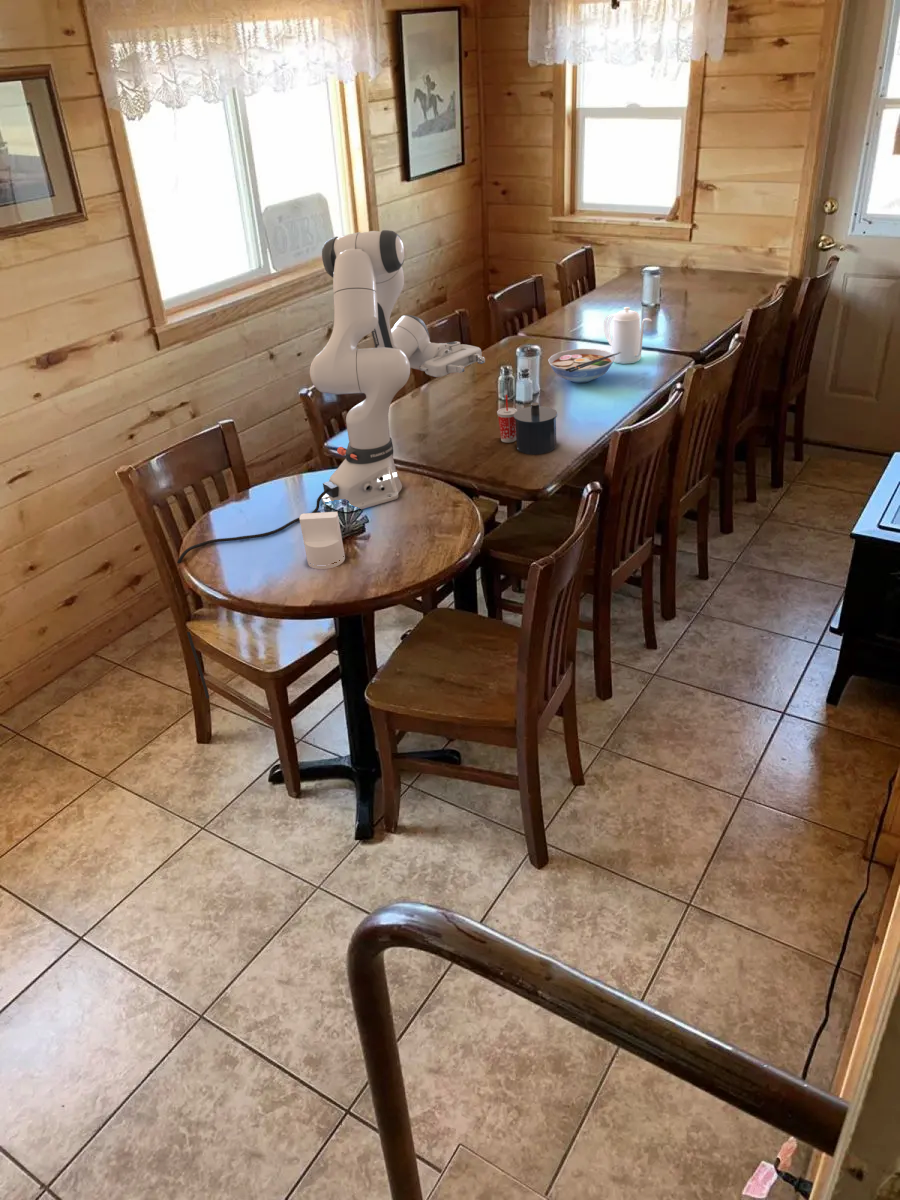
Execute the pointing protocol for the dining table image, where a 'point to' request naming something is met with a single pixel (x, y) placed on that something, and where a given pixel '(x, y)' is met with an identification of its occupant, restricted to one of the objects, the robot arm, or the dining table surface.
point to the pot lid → (535, 414)
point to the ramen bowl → (581, 364)
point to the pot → (536, 437)
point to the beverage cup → (507, 423)
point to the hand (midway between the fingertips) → (473, 365)
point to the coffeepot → (625, 335)
